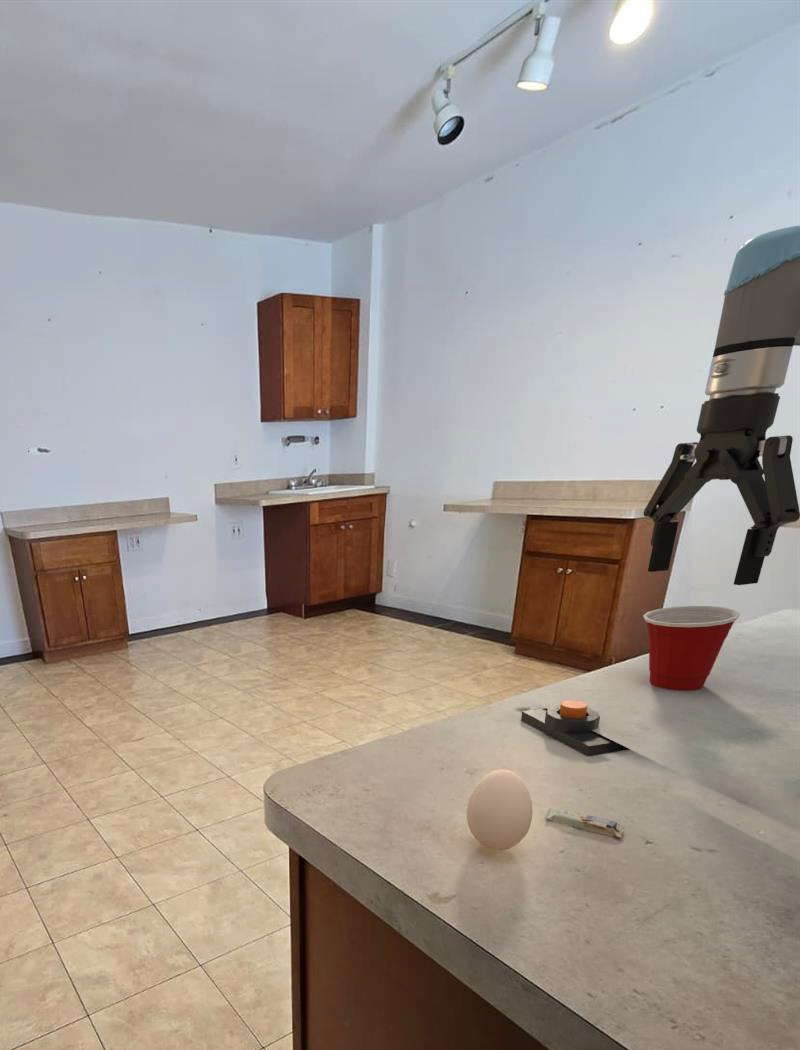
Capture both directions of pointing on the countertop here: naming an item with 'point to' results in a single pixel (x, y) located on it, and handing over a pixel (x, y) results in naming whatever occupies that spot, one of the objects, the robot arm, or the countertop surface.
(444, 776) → the countertop surface
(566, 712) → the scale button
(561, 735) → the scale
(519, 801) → the egg
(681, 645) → the plastic cup
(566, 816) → the granola bar
